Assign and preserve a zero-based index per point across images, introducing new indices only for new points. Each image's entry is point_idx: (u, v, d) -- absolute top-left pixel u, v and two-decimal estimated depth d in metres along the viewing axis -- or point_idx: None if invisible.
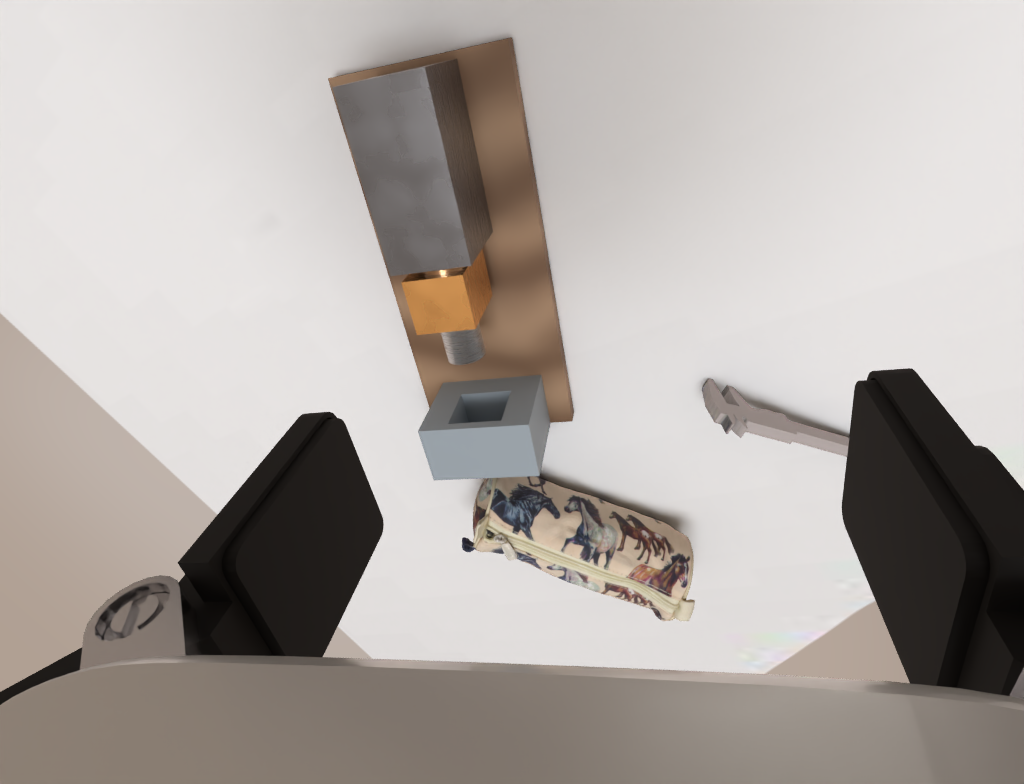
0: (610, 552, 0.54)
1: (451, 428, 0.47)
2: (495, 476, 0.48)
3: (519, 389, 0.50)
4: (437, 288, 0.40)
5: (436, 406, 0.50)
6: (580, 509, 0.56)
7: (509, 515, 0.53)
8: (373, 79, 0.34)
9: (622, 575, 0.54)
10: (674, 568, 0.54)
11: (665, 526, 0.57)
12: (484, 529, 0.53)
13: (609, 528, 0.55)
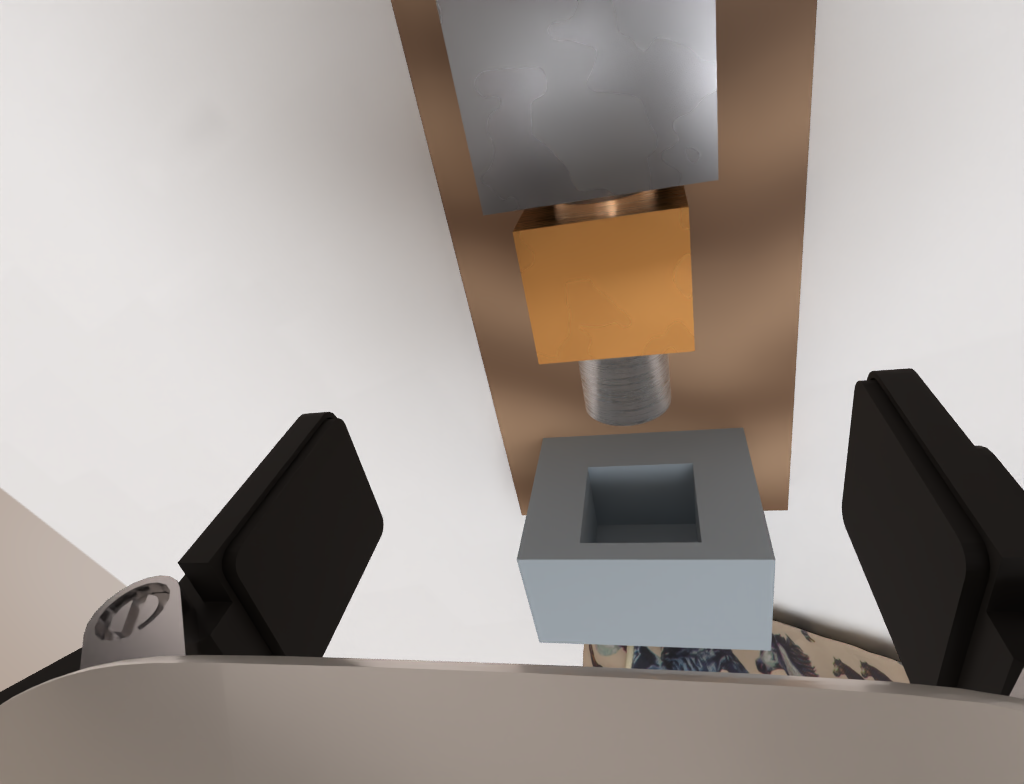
0: None
1: (590, 556, 0.22)
2: (671, 644, 0.24)
3: (710, 461, 0.25)
4: (610, 247, 0.15)
5: (542, 494, 0.25)
6: (783, 661, 0.31)
7: None
8: None
9: None
10: None
11: None
12: None
13: None
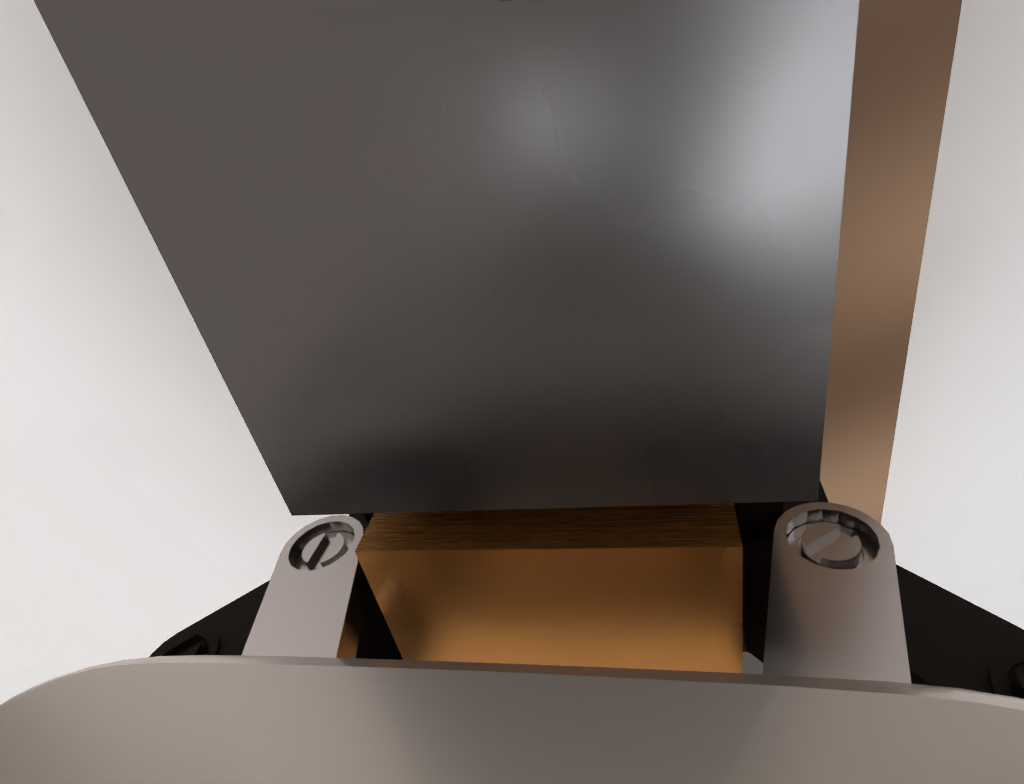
0: None
1: None
2: None
3: None
4: (566, 595, 0.07)
5: None
6: None
7: None
8: None
9: None
10: None
11: None
12: None
13: None
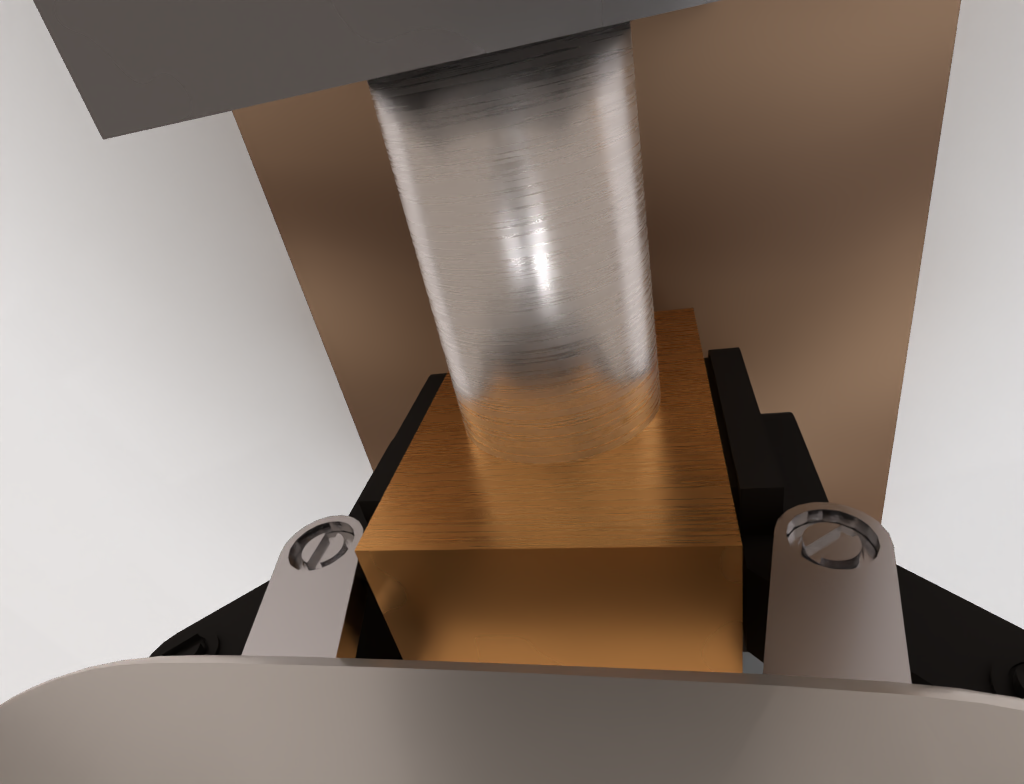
0: None
1: None
2: None
3: None
4: (565, 594, 0.07)
5: None
6: None
7: None
8: None
9: None
10: None
11: None
12: None
13: None
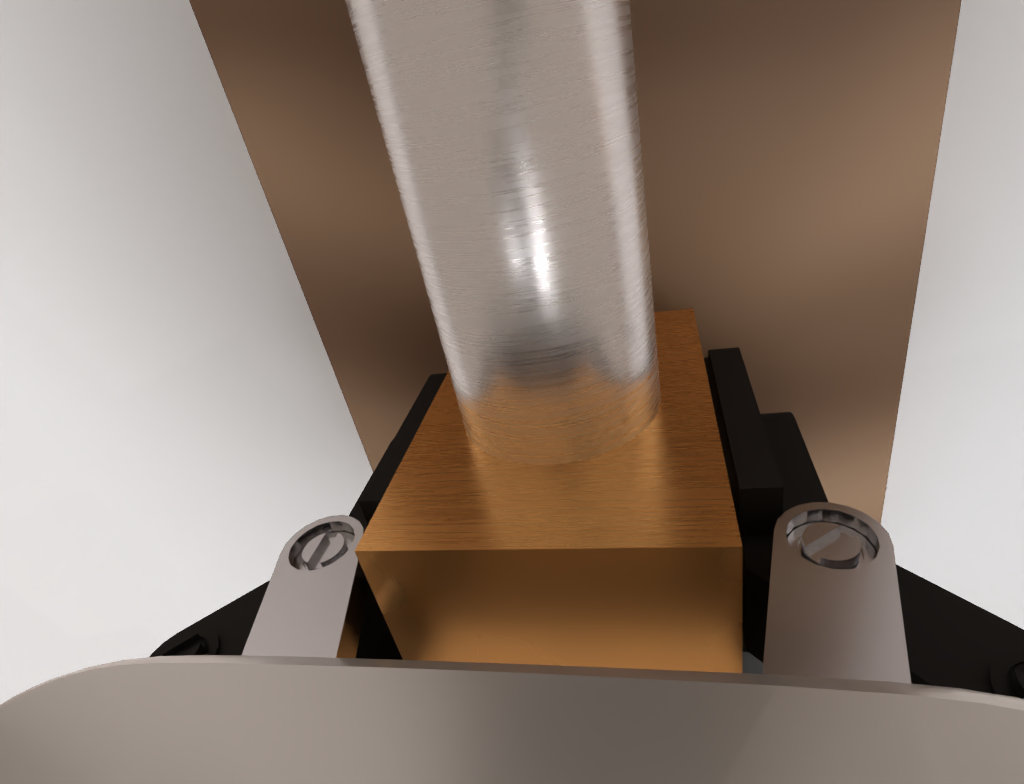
0: None
1: None
2: None
3: None
4: (565, 595, 0.07)
5: None
6: None
7: None
8: None
9: None
10: None
11: None
12: None
13: None
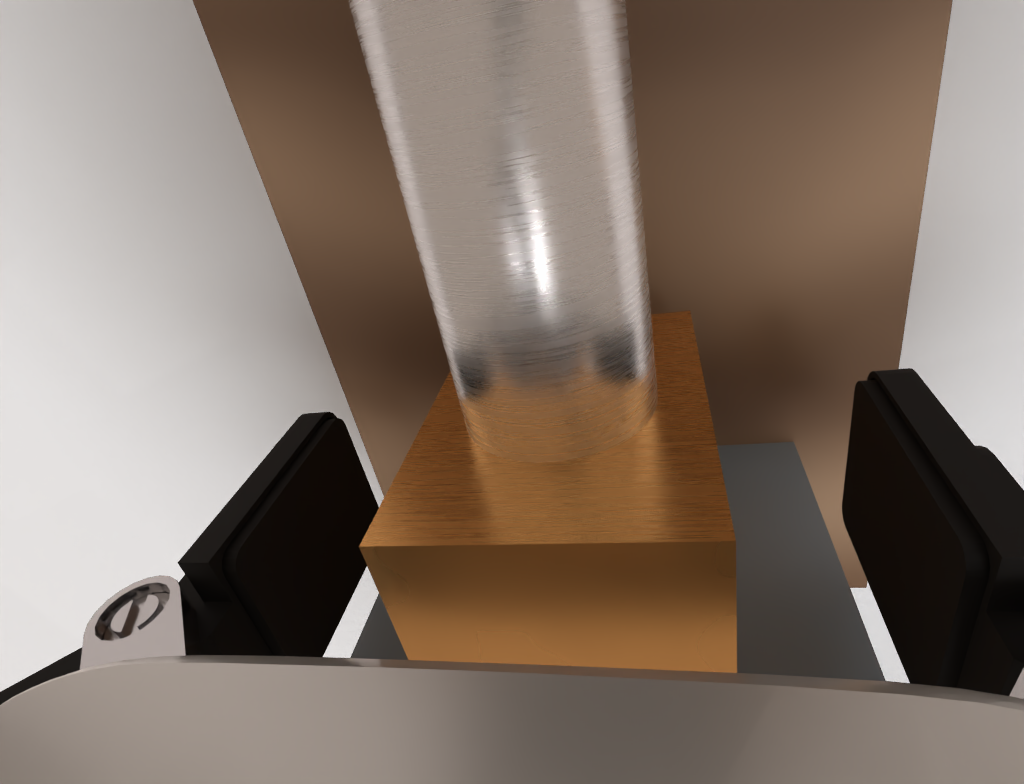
0: None
1: None
2: None
3: (737, 507, 0.13)
4: (564, 589, 0.07)
5: None
6: None
7: None
8: None
9: None
10: None
11: None
12: None
13: None
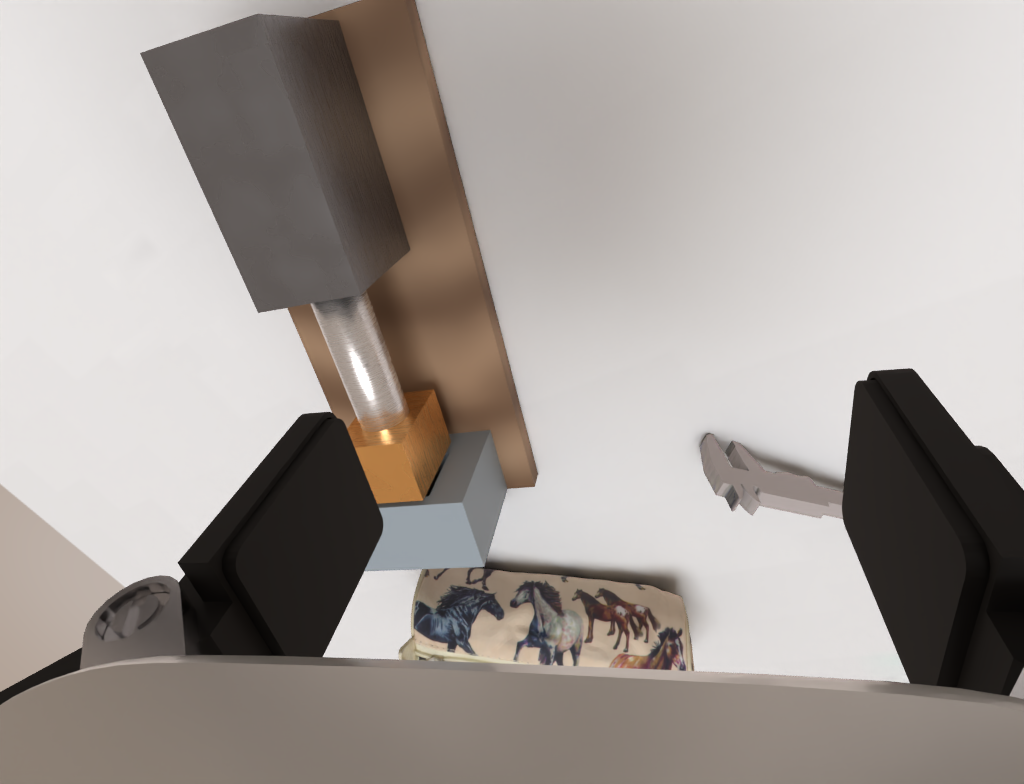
0: (575, 647, 0.41)
1: None
2: (427, 567, 0.37)
3: (460, 450, 0.39)
4: (374, 457, 0.33)
5: None
6: (533, 598, 0.44)
7: (438, 630, 0.43)
8: (192, 37, 0.24)
9: None
10: (665, 649, 0.40)
11: (651, 592, 0.44)
12: (416, 654, 0.43)
13: (570, 615, 0.43)
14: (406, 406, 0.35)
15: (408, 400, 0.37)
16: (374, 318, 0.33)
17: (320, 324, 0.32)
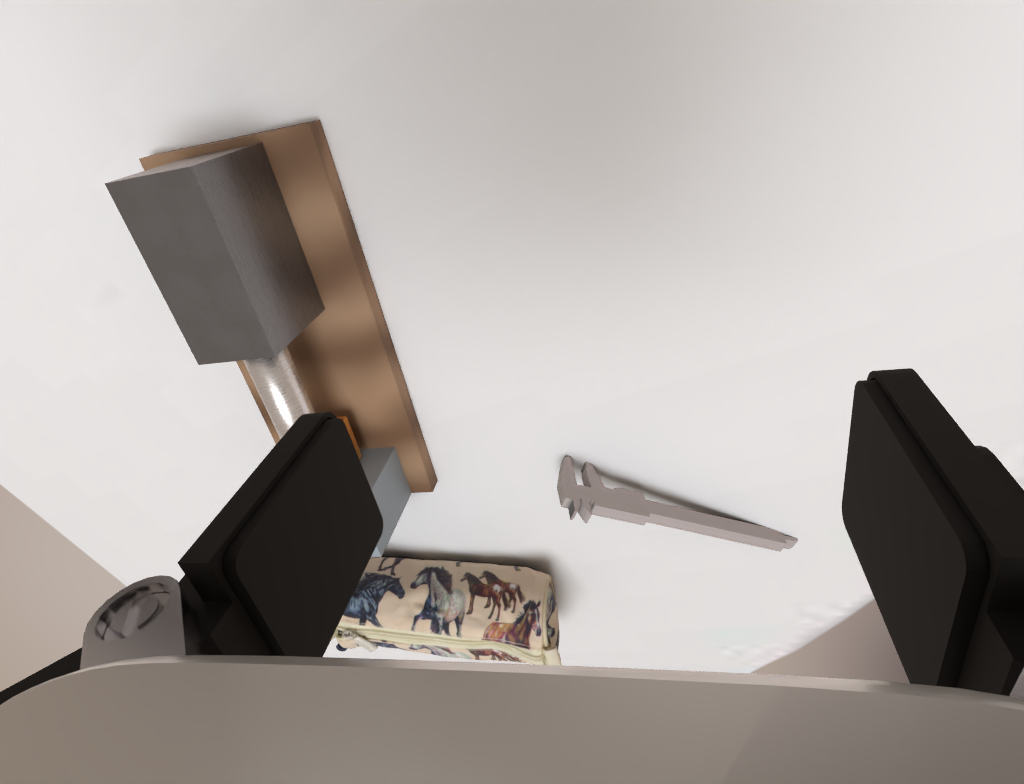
0: (459, 618, 0.52)
1: None
2: None
3: (368, 464, 0.49)
4: None
5: None
6: (429, 580, 0.55)
7: (351, 608, 0.53)
8: (143, 177, 0.33)
9: (477, 639, 0.51)
10: (527, 617, 0.51)
11: (524, 573, 0.54)
12: None
13: (457, 593, 0.53)
14: None
15: None
16: (292, 366, 0.42)
17: (249, 371, 0.41)
